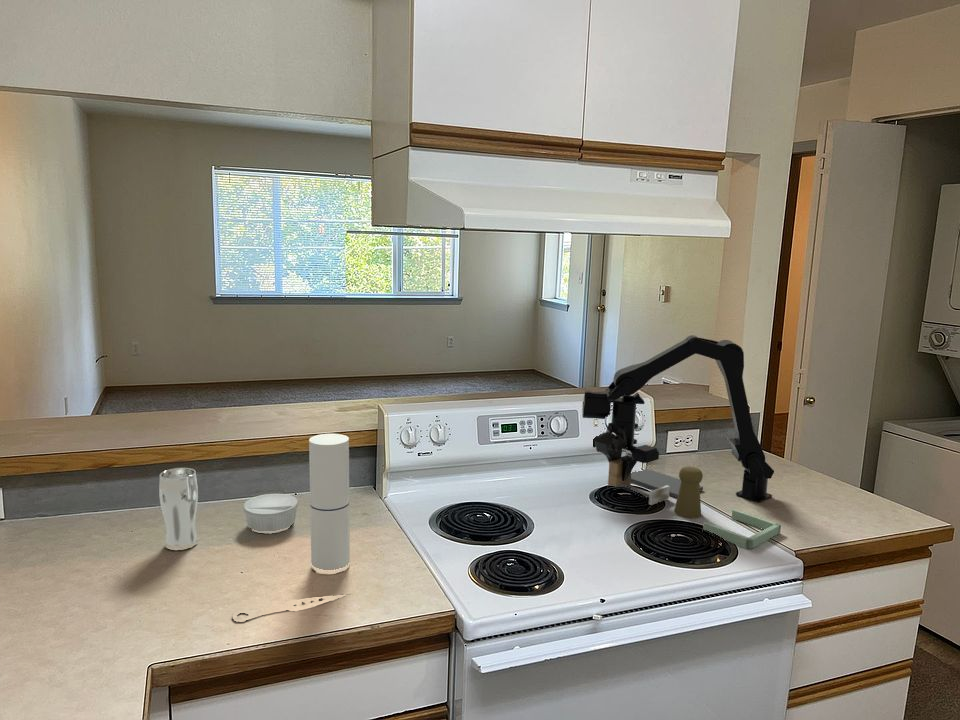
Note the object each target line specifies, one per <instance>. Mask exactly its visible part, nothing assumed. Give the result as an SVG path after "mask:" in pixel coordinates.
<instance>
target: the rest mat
mask: <svg viewBox="0 0 960 720" xmlns="http://www.w3.org/2000/svg"><path fill="white" fill-rule="evenodd" d="M631 472H632V473H631V483H632V482H633V483H632V484H635V483H636V484H635V485H637V484H638V486H640V485H642V486H641V487H643V488H646V487H647V488H646V489H649V488H650V490H651V491H652V490H655V489H658V488H661V487H663V486H666V485H668V486H670V489H669V497H673V498H675V499H677V497H678V492H679V488H680V484H681V480H680V478H677V477H674V476H671V475H668V474H664V473H662V472H659V471H656V470H652V469H649V468H647V467H646V469H645V470H643V471H638V472H633V471H631ZM702 490H704V487H703V486H702V485H700V492H702Z"/></svg>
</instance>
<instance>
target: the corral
mask: <svg viewBox="0 0 960 720" xmlns="http://www.w3.org/2000/svg"><path fill="white" fill-rule="evenodd" d="M731 519H732V520H736V521H737V522H742V523H743V522H744V524H746V523H747V525H749V524H750V525H749V526H751V527H752V526H753V527H755V528H758V529H761V528H762V529H761V531H759V532H757V533H755V534H753V535H751V536H749V537H748V536H745V535H743V534H739V533H737V532H735V531H732V530H730V529H726V528H724V527H721V526H718V525H715V524H712V523H710V522H707V521H705V522H703V523H702V530H703V529H704V530H707V531H709V532H711V533H714V534H716V535H718V536H720V537H722V538H724V539H725V540H724V541H726V540H727V542H729V543H732V544H735V545H737V546H739V547H742V548H745V549H747V550H752V549H754V548H755V547H757V546H760V545H761V544H763V543H765V542H767V541H769V540H771V539H773V538H774V537H776V536H778V535H780V534H781V529H782V527H781V526H782V525H781V524H779V523H777V522H774V521H770V520H768V519H765V518H762V517H759V516H756V515H753V514H750V513H747V512H744V511H741V510H738V509H736V508H734V509H732V513H731ZM763 529H765V530H763ZM779 533H780V534H779ZM777 534H778V535H777ZM775 535H776V536H775ZM773 536H774V537H773ZM772 537H773V538H772ZM770 538H771V539H770Z"/></svg>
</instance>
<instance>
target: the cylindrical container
mask: <svg viewBox="0 0 960 720" xmlns="http://www.w3.org/2000/svg"><path fill="white" fill-rule="evenodd" d="M308 448H309V449H308V450H309V451H308V452H309V453H308V455H309V456H308V457H309V460H308V461H309V462H308V463H309V506H310V507H309V509H310V510H309V512H310V552H311V553H310V558H311V559H310V561H311V562H310V563H312V565H313V566H314V567H316V568H319V569H323V570H334V569H335V570H336V569H339V568H343V567H345V566H346V565H348V563H349V562H350V563H351V560H350V559H351V557H350V555H351V553H350V552H351V551H350V550H351V549H350V548H351V547H350V539H351V538H350V437H349V436H347V435H345V434H341V433H320V434H317V435H313V436H311V437H310V438H309V439H308Z"/></svg>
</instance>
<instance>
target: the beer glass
mask: <svg viewBox="0 0 960 720" xmlns="http://www.w3.org/2000/svg"><path fill="white" fill-rule="evenodd" d="M198 486H199V485H198V480H197V472H196V470H195V469H194V468H189V467H175V468H170V469H167V470H163V471H162V472H160V473H159V487H158V488H159V491H158V492H159V494H158V495H159V503H160V509H161V512H162V516H163V520H164V523H165V532H166V535H165V542H166V543H167V544H168V545H171V546H182V545H187V544H190V543H192V542H194V541H196V539H198V536H197V532H196V517H197V510H198V503H199V502H198V501H199V488H198ZM165 542H164V543H165Z"/></svg>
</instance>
